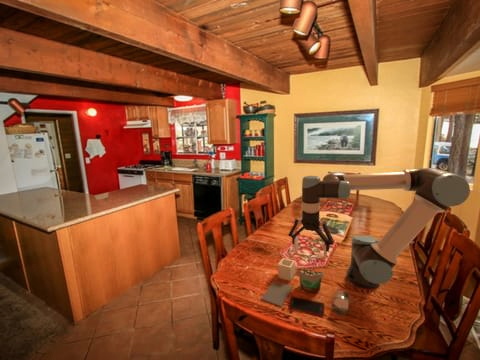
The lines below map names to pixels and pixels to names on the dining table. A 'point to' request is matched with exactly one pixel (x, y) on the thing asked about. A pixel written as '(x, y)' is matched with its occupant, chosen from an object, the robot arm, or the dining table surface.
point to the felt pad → (277, 293)
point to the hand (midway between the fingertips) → (310, 253)
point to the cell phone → (307, 306)
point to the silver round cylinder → (341, 302)
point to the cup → (286, 269)
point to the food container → (310, 280)
